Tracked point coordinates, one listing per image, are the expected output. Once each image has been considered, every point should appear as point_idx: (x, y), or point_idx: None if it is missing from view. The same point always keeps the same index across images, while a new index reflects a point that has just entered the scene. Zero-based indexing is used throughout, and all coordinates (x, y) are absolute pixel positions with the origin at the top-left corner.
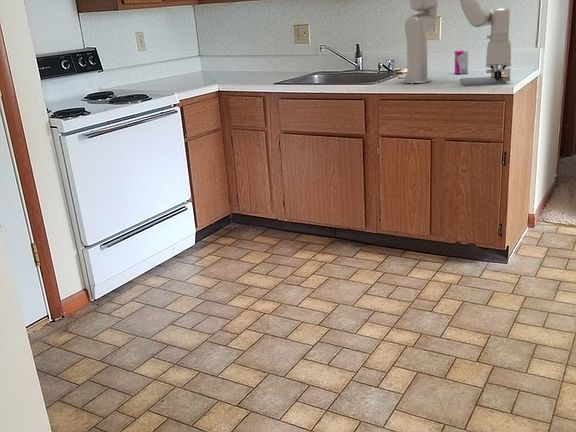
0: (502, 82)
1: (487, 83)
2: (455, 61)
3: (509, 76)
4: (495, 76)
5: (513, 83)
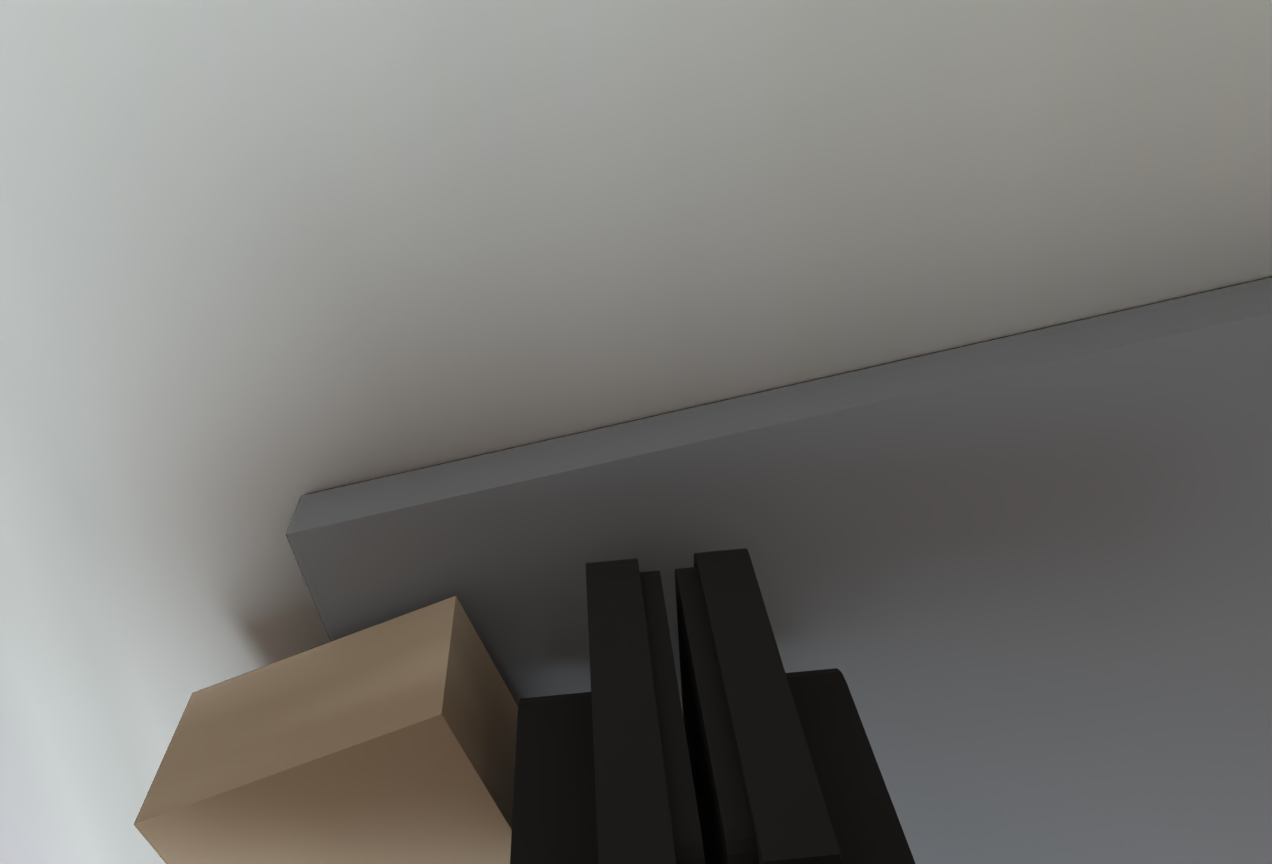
0: (449, 495)
1: (1060, 351)
2: None
3: (149, 840)
4: (800, 717)
5: (41, 563)
